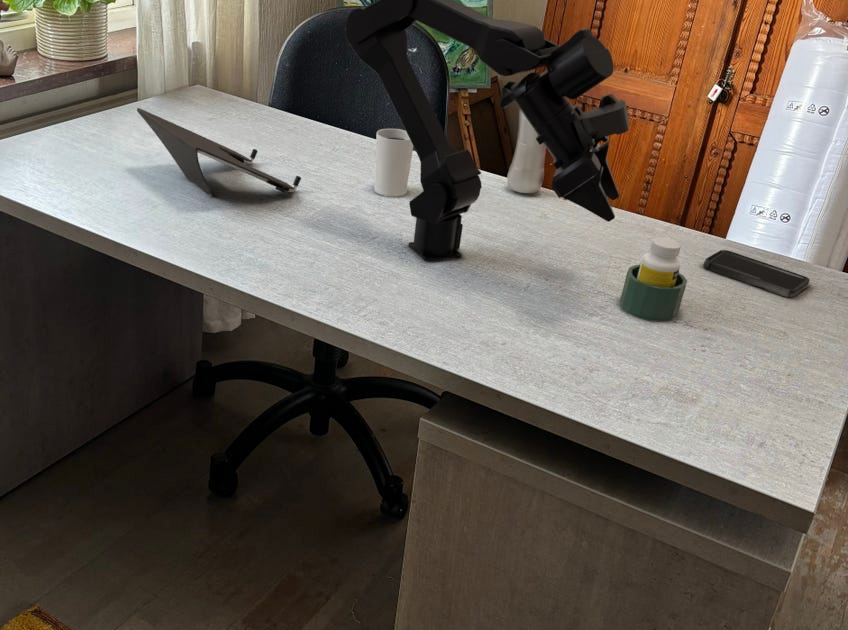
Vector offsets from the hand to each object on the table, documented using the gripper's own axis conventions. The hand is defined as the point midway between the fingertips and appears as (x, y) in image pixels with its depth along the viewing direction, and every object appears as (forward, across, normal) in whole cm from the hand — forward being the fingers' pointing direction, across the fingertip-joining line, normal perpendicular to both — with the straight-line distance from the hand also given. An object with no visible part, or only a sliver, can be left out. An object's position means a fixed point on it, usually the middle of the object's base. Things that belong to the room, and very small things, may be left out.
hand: (614, 208), depth 136 cm
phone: (+27, +20, -8) cm, 34 cm away
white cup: (-18, +30, +37) cm, 51 cm away
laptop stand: (-37, +19, +57) cm, 70 cm away
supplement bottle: (+15, 0, +4) cm, 16 cm away
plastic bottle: (-2, +42, +22) cm, 47 cm away
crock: (+15, 0, +4) cm, 16 cm away
